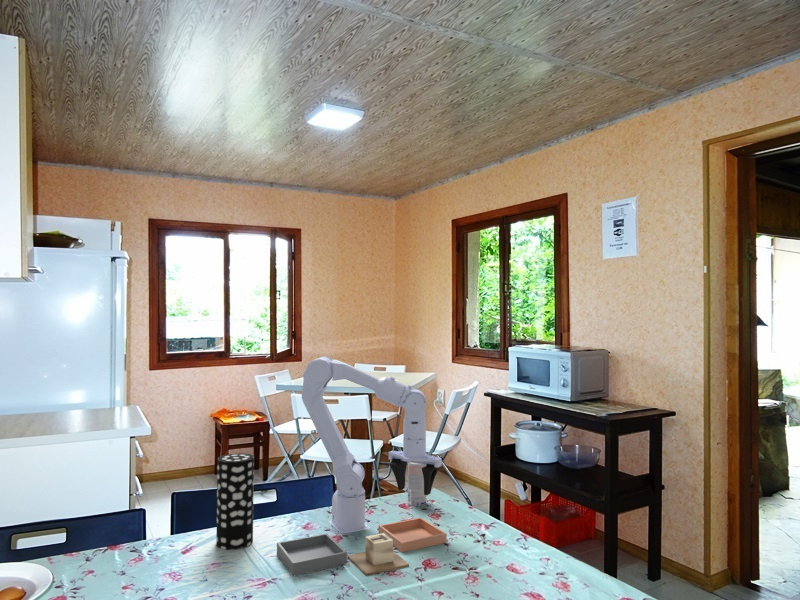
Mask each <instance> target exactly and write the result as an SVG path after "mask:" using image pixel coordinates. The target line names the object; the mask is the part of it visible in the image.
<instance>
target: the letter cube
mask: <svg viewBox="0 0 800 600" xmlns="http://www.w3.org/2000/svg"><path fill="white" fill-rule="evenodd" d="M364 538H365V543H364V544H365V545H364V547H365V551H364V552H365V558H367V559H368V560H369V561H370V562H371V563H372V564H373V565H378V564H383V563H387V562H392V561H393V551H394V546H393V540H392V539H391V538H390V537H388V536H387V535H386V534H385V533H381V534H379V533H377V534H372V535H371V534H370V535H368V536H365V537H364Z"/></svg>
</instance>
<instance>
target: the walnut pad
mask: <svg viewBox="0 0 800 600" xmlns="http://www.w3.org/2000/svg"><path fill="white" fill-rule="evenodd" d="M348 559H349V561H350V562H352V564H354V565H355V566H356V568H358V569H359V571H360V572H362V573H363V574H364V576H366V577H367V576H372V575H376V574H381V573H384V572H388V571H389V572H390V571H393V570H398V569H403V568H408V567H409V566H410V564H409V562H407V561H406V560H405V559H404V558H402V557H401V556H400V555H399V554H398V553H396V552H395V551H394V550H393V561H392V562H387V563H383V564H378V565H373V564H372V563H371V562H370V561H369V560H368V559H367V558H365V551H362V552H357V553H353V554H347V560H348Z"/></svg>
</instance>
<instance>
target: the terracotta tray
mask: <svg viewBox="0 0 800 600" xmlns="http://www.w3.org/2000/svg"><path fill="white" fill-rule="evenodd" d="M381 533H385V534H386V535H387V536H388V537H390V538H391V539H392V540H393V547H394V548H395V549H397V550H399V551H400V552H401V553H403V552H404V553H405V552H409V551H413V550H418V549H421V548H426V547H427V548H428V547H430V546H431V547H432V546H436V545H442V544H445V543H447V533H446V532H445V531H443V530H442V529H440V528H438V527H437V526H436V525H433V524H432V523H431V522H429V521H427V520H426V519H424V518H423V517H416V518H411V519H406V520H400V521H395V522H390V523H385V524H379V525H378V534H381Z"/></svg>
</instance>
